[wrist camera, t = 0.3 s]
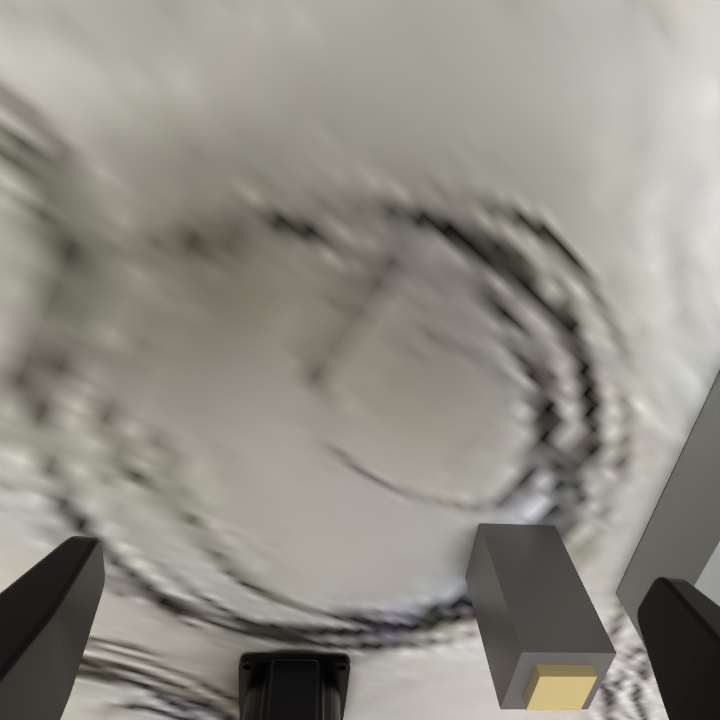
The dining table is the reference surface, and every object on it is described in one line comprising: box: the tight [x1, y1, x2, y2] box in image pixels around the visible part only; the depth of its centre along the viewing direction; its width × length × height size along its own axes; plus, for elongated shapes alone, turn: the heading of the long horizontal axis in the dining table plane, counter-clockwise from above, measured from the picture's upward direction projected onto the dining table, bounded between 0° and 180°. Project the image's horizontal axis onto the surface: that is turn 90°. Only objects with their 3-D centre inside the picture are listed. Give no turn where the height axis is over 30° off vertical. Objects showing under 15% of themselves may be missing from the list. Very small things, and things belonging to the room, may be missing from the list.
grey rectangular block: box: [465, 523, 616, 711], centre depth 26 cm, size 4×4×8 cm
